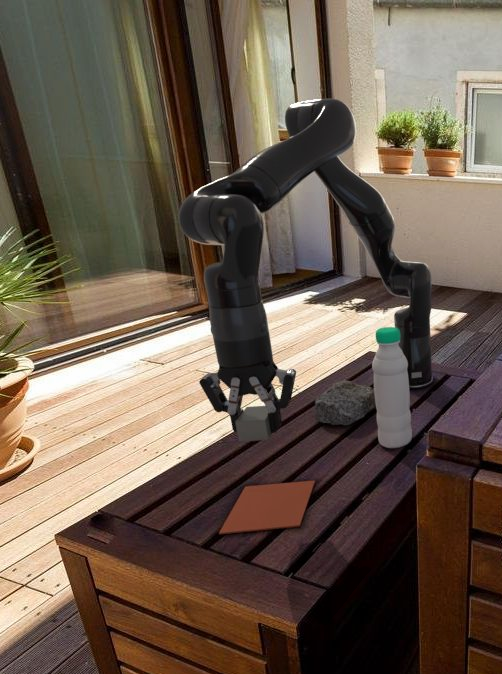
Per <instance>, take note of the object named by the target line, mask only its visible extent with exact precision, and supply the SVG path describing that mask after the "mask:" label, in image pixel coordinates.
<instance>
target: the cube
mask: <svg viewBox="0 0 502 674" xmlns="http://www.w3.org/2000/svg"><path fill="white" fill-rule="evenodd" d="M268 412H269V411H268V409H267V408H266V406H265V405H255V406H246V407H245V408H244V409H243V412H242V414H241V415H240V416H239V417H238V419H237V420H236V421H235V424H236V429H237V432H236V435H237V434H238V435H237V439H238V442H239V443H243V442H255V441H257V442H259V441H268V440H270V438H271V437H272V434H273V433H271V431H270V424H269V418H268Z"/></svg>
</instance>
